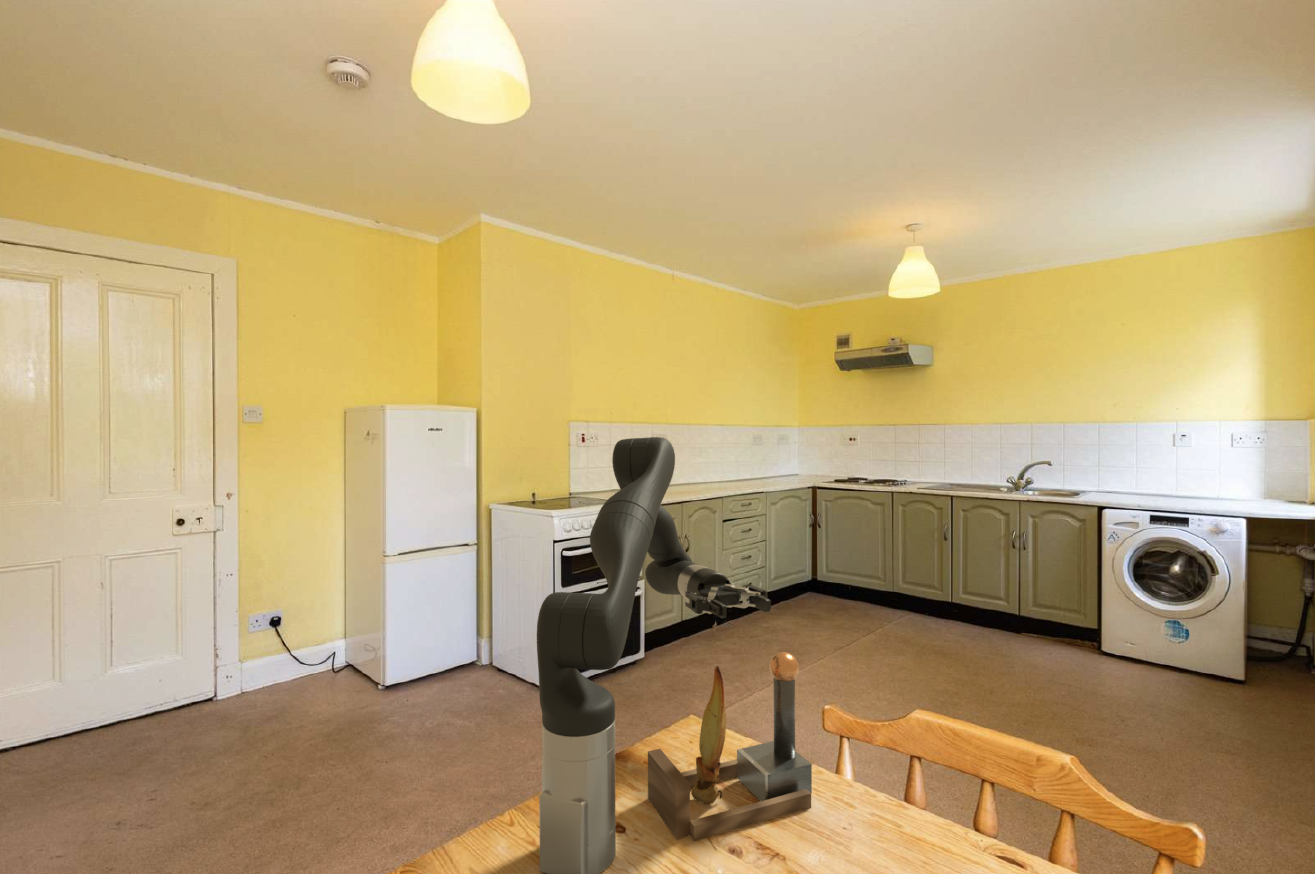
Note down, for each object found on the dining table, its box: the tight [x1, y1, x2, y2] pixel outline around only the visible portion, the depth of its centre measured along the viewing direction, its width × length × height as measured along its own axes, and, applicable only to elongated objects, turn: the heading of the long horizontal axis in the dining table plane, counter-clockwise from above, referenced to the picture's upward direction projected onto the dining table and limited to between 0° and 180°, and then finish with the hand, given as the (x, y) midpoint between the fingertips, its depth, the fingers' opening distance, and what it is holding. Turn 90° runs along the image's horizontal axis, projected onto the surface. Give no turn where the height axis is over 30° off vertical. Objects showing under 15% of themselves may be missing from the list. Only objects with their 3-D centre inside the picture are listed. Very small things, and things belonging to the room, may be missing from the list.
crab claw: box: [690, 665, 727, 805], centre depth 89 cm, size 7×5×20 cm
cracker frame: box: [647, 748, 812, 842], centre depth 90 cm, size 21×12×7 cm, turn 113°
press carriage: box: [736, 651, 813, 802], centre depth 94 cm, size 8×8×20 cm
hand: (747, 609), depth 104 cm, fingers open, 8 cm apart
